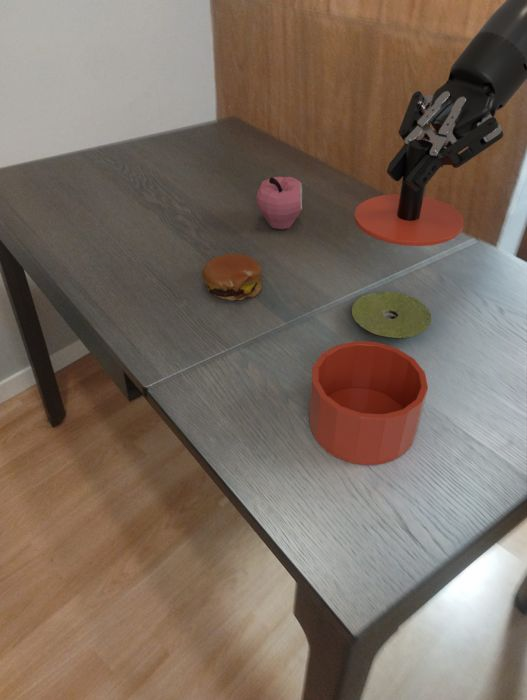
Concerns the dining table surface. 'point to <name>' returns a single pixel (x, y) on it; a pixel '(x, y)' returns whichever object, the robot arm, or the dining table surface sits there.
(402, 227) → the cooker lid
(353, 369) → the cup
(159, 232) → the dining table surface
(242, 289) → the burger
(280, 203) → the apple
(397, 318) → the mat
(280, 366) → the dining table surface
